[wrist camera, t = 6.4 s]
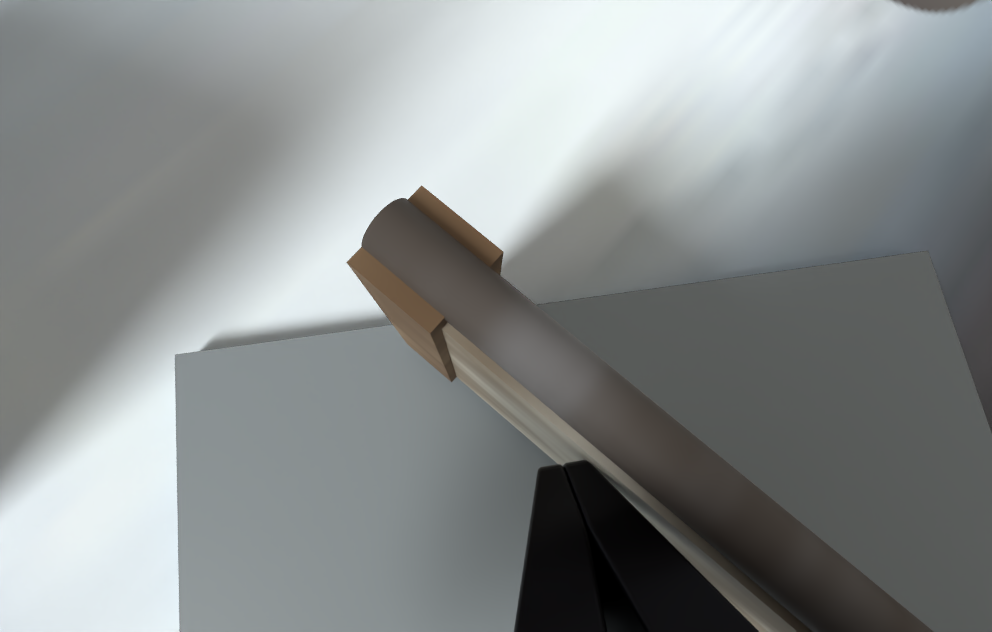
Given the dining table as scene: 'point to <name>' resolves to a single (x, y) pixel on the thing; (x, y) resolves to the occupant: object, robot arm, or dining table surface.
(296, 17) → the dining table surface
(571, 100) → the dining table surface
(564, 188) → the dining table surface
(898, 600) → the board
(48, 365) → the dining table surface
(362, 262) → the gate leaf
